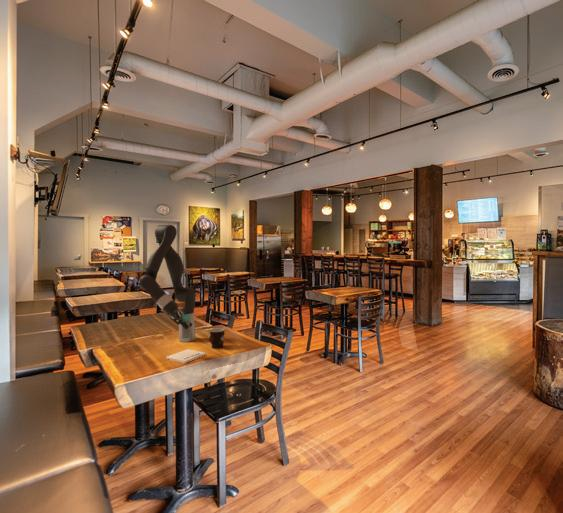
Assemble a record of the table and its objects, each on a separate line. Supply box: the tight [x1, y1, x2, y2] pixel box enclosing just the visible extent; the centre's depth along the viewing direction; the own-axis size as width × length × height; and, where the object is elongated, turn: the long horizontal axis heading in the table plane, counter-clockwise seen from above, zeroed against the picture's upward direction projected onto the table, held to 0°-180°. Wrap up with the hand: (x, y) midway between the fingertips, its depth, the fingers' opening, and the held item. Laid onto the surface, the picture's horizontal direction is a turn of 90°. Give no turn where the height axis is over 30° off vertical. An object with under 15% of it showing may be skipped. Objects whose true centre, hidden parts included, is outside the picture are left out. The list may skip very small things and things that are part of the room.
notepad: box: [165, 348, 207, 364], centre depth 174 cm, size 15×14×1 cm
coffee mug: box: [209, 327, 226, 350], centre depth 190 cm, size 12×9×10 cm
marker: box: [182, 314, 190, 338], centre depth 175 cm, size 4×4×12 cm
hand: (189, 327), depth 174 cm, fingers closed on marker, 4 cm apart
